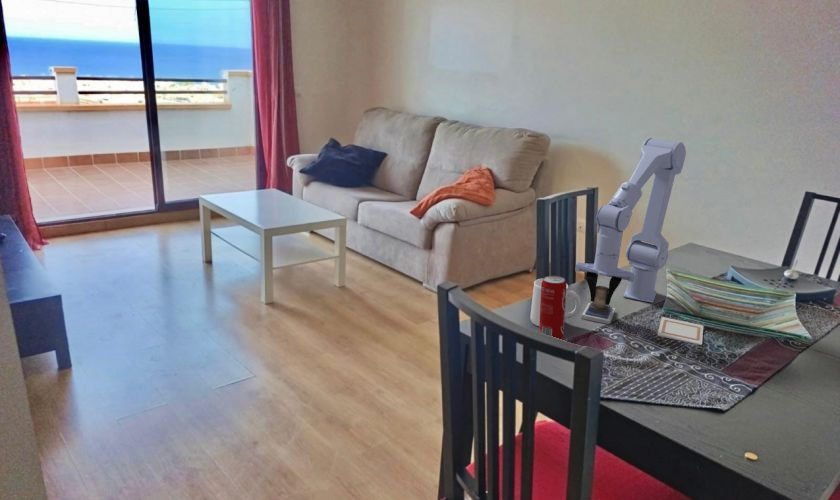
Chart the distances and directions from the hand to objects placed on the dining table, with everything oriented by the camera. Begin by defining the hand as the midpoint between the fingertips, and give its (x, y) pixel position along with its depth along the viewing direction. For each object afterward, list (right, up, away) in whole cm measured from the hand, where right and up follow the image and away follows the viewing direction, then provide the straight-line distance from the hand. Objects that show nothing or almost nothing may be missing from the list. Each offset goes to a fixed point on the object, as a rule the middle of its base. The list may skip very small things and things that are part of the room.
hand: (600, 301), depth 157 cm
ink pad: (0, -3, +1) cm, 4 cm away
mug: (-13, -5, -5) cm, 15 cm away
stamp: (0, -2, +1) cm, 2 cm away
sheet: (+18, -7, -6) cm, 20 cm away
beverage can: (-16, -8, -13) cm, 22 cm away
